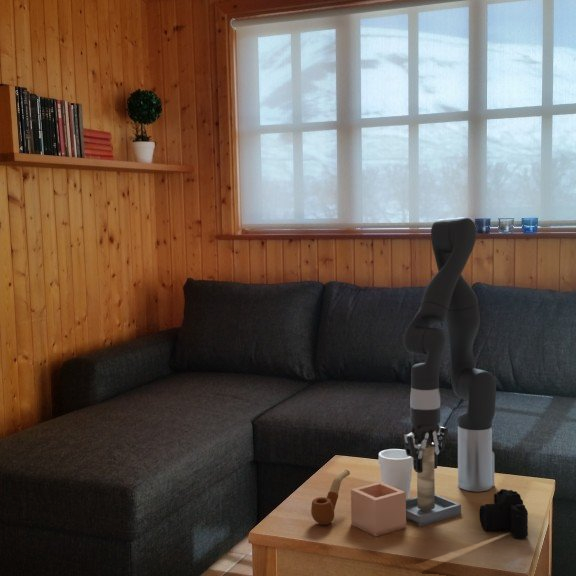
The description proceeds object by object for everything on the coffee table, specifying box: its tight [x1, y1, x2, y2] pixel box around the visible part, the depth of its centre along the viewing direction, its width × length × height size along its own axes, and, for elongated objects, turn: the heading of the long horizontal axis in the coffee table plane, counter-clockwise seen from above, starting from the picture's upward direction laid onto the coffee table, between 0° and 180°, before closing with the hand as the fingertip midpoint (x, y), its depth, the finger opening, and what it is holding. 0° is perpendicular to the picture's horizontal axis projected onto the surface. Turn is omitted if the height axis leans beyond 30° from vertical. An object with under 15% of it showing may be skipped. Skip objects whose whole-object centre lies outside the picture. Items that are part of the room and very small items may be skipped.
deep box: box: [350, 481, 407, 537], centre depth 197 cm, size 10×10×9 cm
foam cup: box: [378, 448, 414, 500], centre depth 213 cm, size 10×9×13 cm
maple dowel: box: [416, 444, 436, 510], centre depth 204 cm, size 4×4×16 cm
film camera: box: [479, 488, 529, 539], centre depth 194 cm, size 15×10×9 cm, turn 5°
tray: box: [406, 493, 462, 527], centre depth 205 cm, size 14×11×2 cm
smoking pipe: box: [310, 469, 351, 526], centre depth 204 cm, size 7×18×6 cm
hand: (425, 469), depth 204 cm, fingers open, 4 cm apart
